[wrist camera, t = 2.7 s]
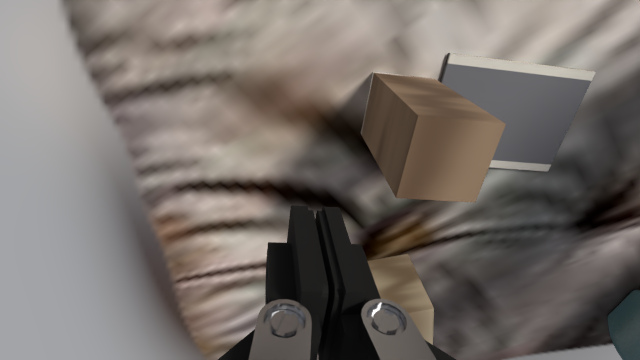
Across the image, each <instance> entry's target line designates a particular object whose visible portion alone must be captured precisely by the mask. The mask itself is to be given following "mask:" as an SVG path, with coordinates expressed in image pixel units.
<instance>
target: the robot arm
mask: <svg viewBox="0 0 640 360" xmlns="http://www.w3.org/2000/svg"><path fill="white" fill-rule="evenodd" d="M317 354H318V355H319V360H456V359H454V358H452V357H451V356H449V355H448V354H446V353H445V352H443V351H441V350H440V349H438V348H437V347H435V346H434V345H432V344H431V343H429V342H427V341H426V340H424V338H423V336H422V335H421V333H420V331H419V330H418V328H417V327H416V325H415V323H414V322H413V320H412V318H411V317H410V315H409V314H408V312H407V311H406V310H405V309H404V308H403V307H401V306H400V305H399V304H397V303H395V302H393V301H391V300H386V299H381V297H380V295H379V292H378V289H377V286H376V284H375V281H374V278H373V275H372V272H371V270H370V267H369V264H368V261H367V259H366V256H365V253H364V250H363V248H362V246H361V245H358V244H351V243H350V240H349V236H348V233H347V230H346V227H345V224H344V221H343V218H342V215H341V211H340V209H339V208H338V207H323V209H322V211H317V213H316V219H315V217H314V212H313V211H312V210H308V207H307V206H291V210H290V219H289V228H288V238H287V243H270V242H268V250H267V263H266V305H265V306H264V307H263V308H262V309H261V310H260V313H259V315H258V318H257V323H256V327H255V330H253V331H252V332H251V333H250V334H249V335H247V336H246V337H245V338H244V339H242V340H241V341H240V342H239V343H238V344H236V345H235V346H234V347H233V348H231V349H230V350H229V351H228V352H227V353H225V354H224V355H223V356H222V357H220V358H219V359H218V360H316V359H317Z"/></svg>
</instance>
